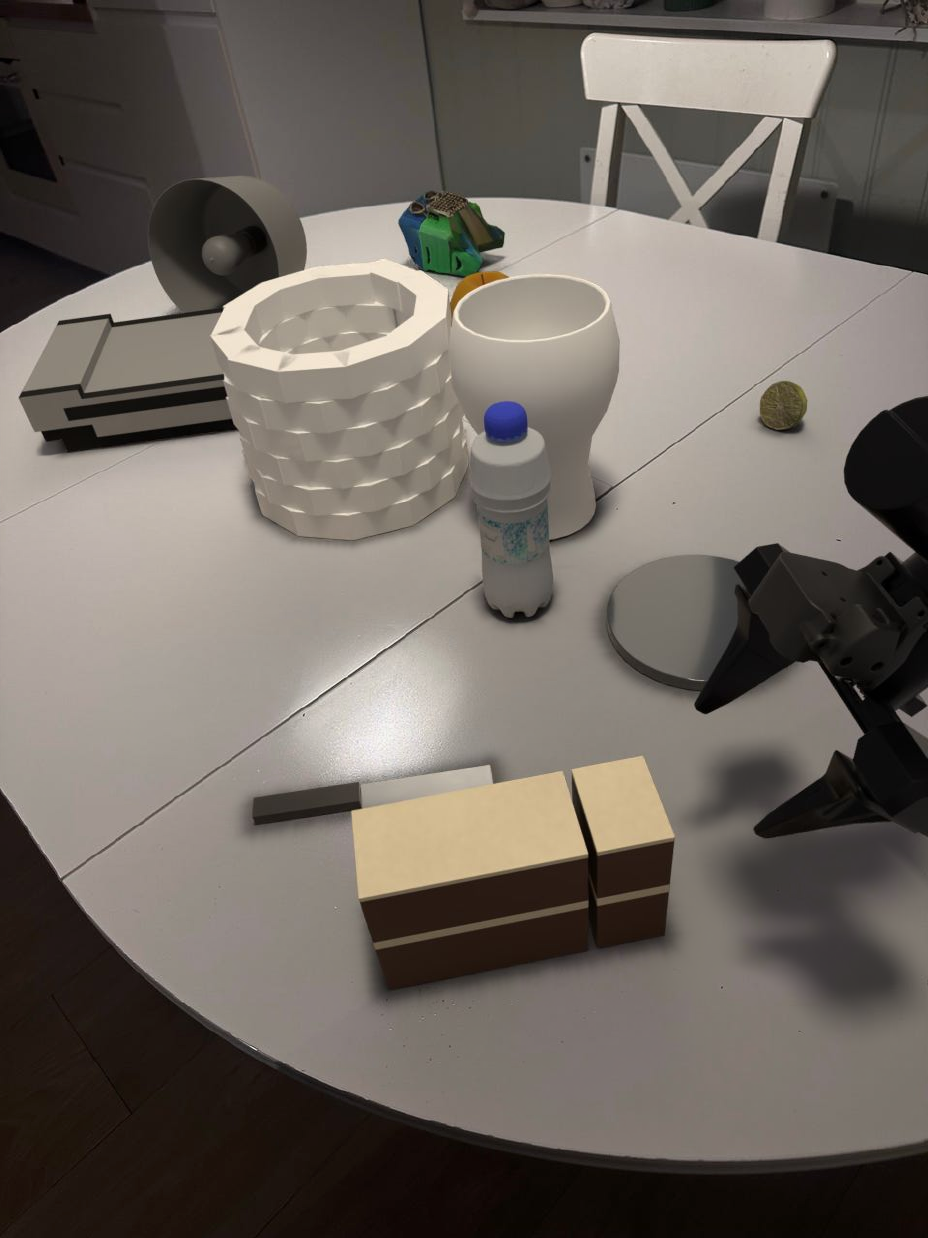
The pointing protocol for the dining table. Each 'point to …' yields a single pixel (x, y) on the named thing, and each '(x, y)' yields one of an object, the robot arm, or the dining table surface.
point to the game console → (128, 381)
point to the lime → (783, 405)
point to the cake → (472, 879)
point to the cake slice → (624, 850)
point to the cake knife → (365, 794)
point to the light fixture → (222, 239)
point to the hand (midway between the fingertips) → (726, 768)
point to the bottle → (512, 510)
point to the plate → (675, 617)
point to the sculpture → (448, 233)
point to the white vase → (541, 373)
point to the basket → (344, 397)
